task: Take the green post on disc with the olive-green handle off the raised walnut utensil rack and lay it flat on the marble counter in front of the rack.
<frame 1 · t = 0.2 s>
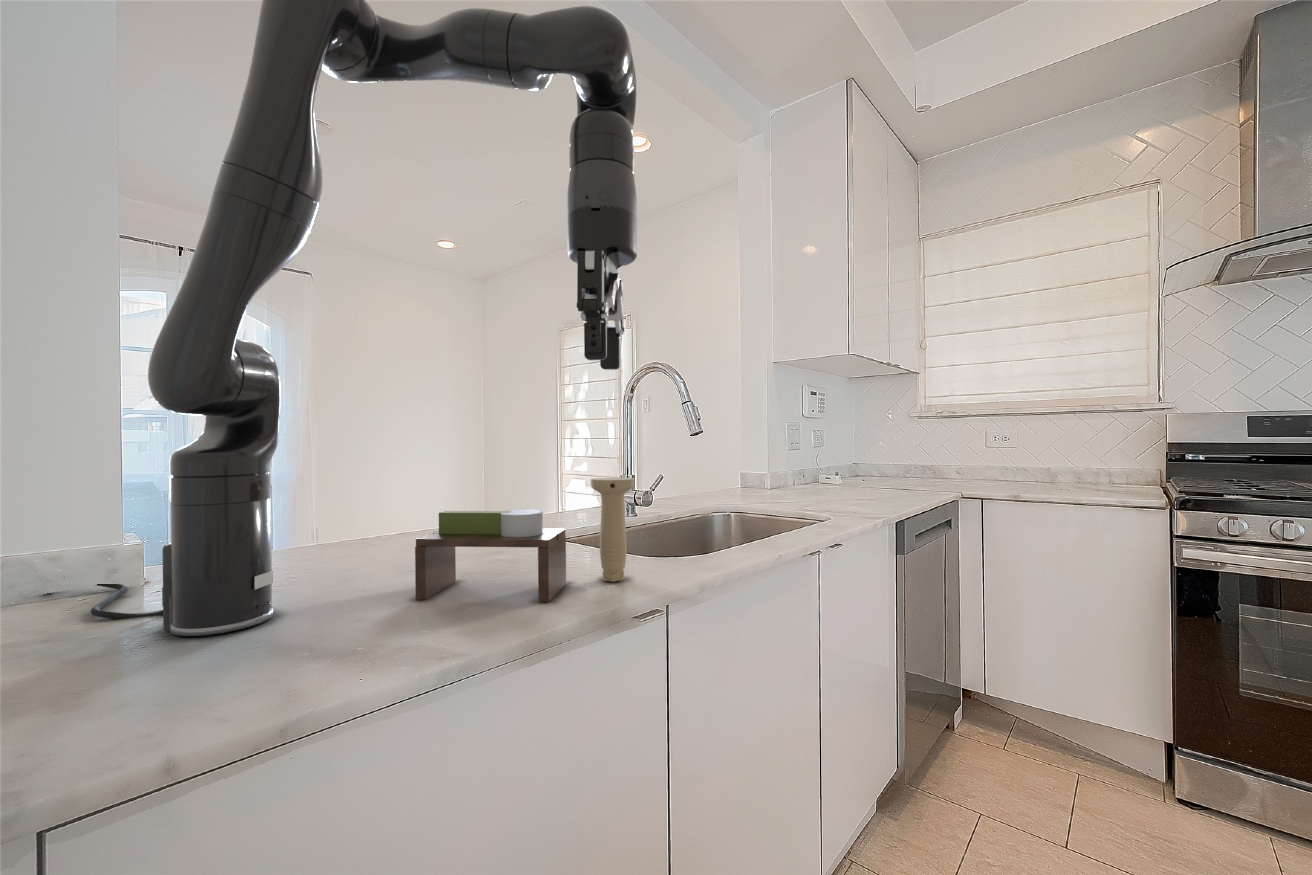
hand: (603, 364, 61), 29 cm above the countertop, tool pointing down, fingers open, 8 cm apart
handle: (613, 581, 83), on the countertop
green post on disc: (476, 533, 78), point 8 cm above the countertop, touching rack
rack: (494, 591, 77), on the countertop
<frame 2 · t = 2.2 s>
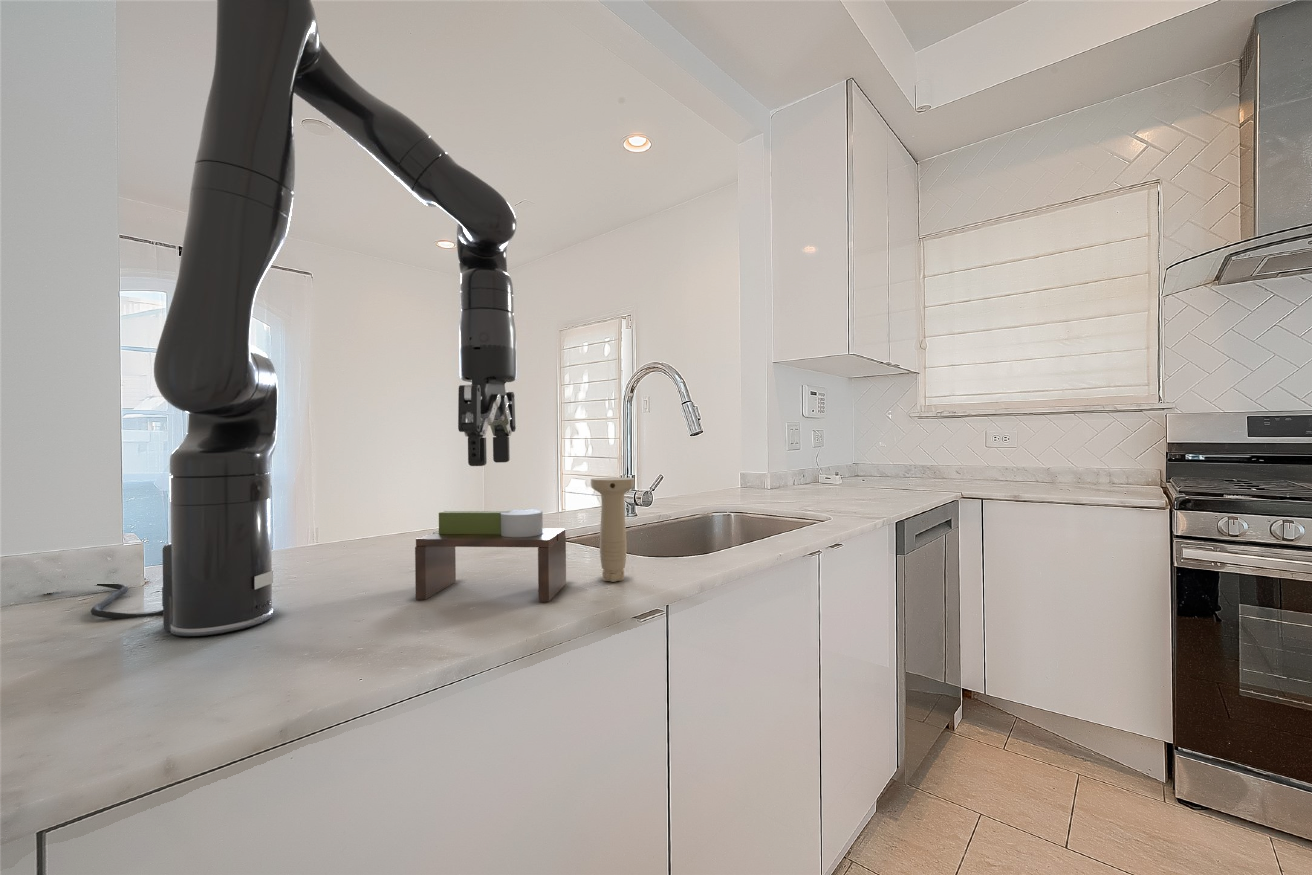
hand: (490, 464, 77), 18 cm above the countertop, tool pointing down, fingers open, 8 cm apart
nothing on the countertop moved.
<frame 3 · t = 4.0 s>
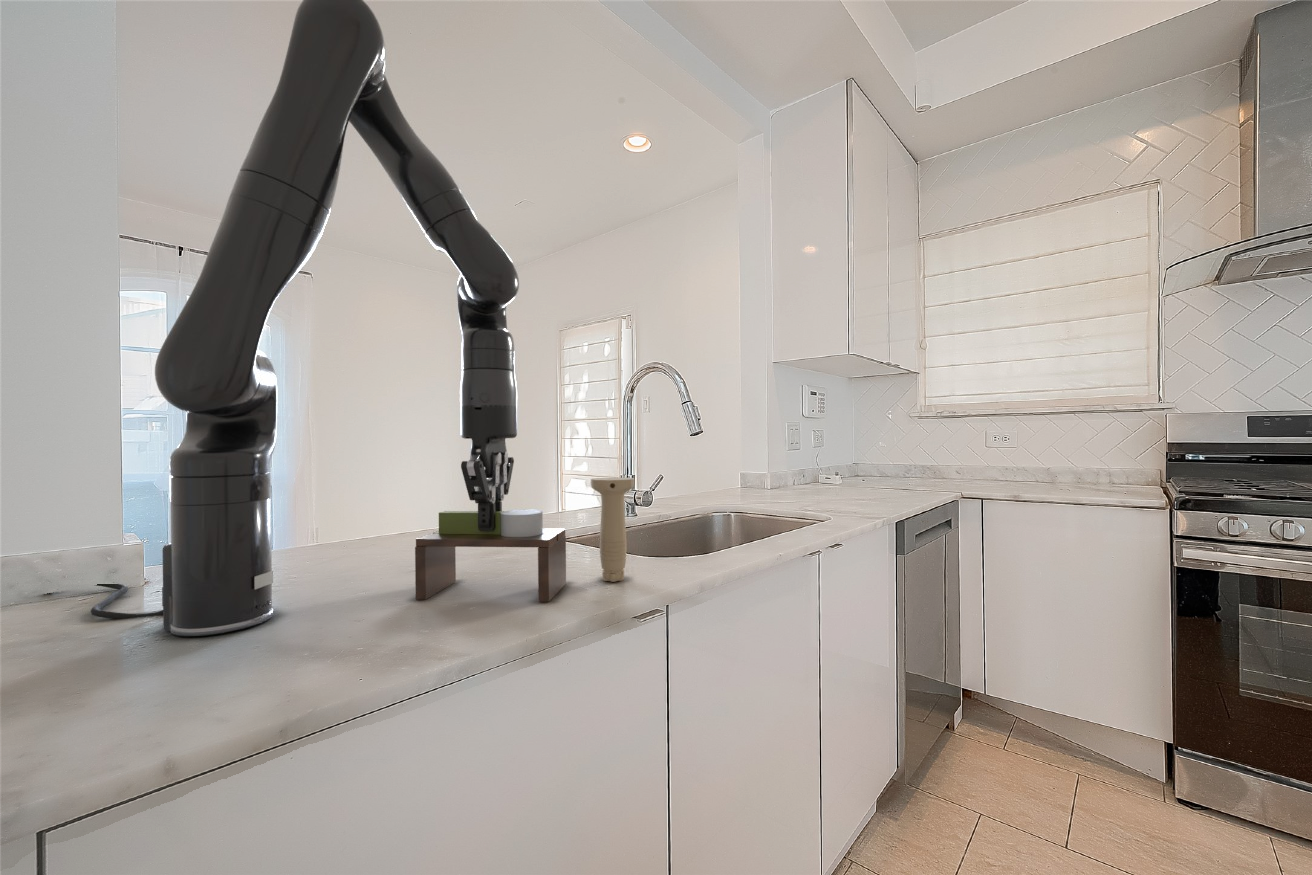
hand: (490, 528, 77), 9 cm above the countertop, tool pointing down, fingers closed on green post on disc, 2 cm apart
green post on disc: (476, 533, 78), point 8 cm above the countertop, touching gripper, rack
everything else where it was.
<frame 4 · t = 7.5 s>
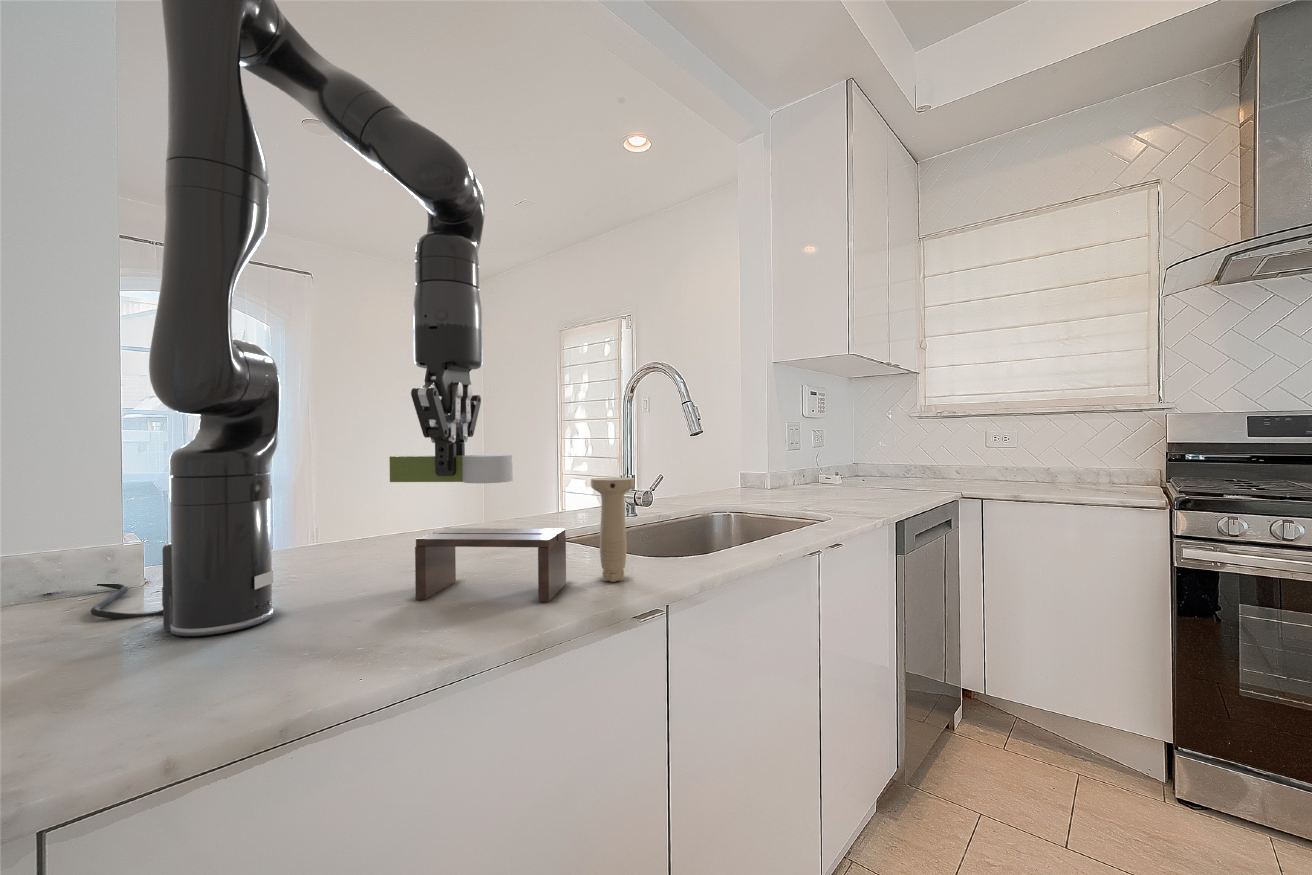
hand: (450, 474, 66), 17 cm above the countertop, tool pointing down, fingers closed on green post on disc
green post on disc: (434, 481, 66), point 16 cm above the countertop, touching gripper
everything else where it was.
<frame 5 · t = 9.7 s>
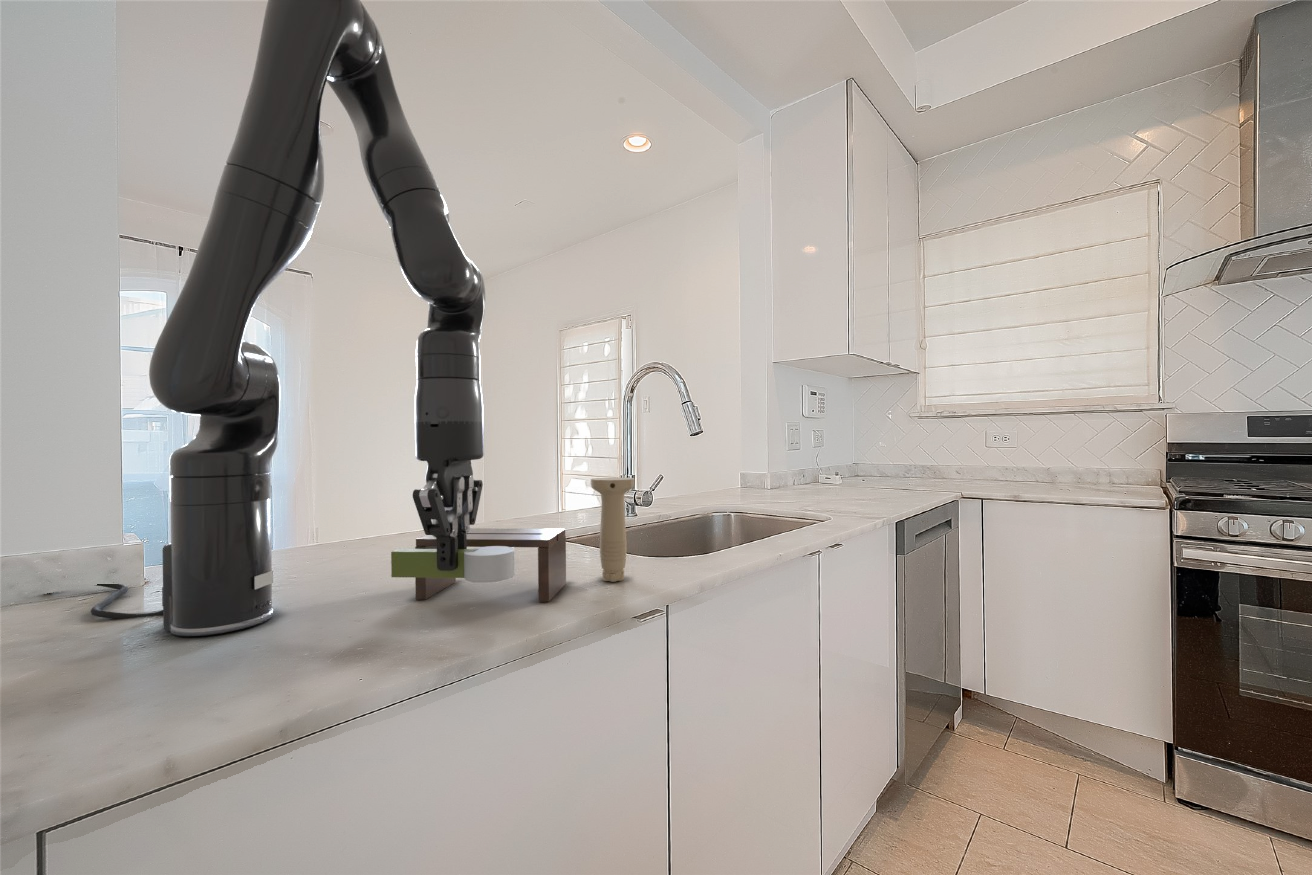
hand: (452, 566, 66), 6 cm above the countertop, tool pointing down, fingers closed on green post on disc, 2 cm apart
green post on disc: (436, 575, 66), point 5 cm above the countertop, touching gripper
everything else where it was.
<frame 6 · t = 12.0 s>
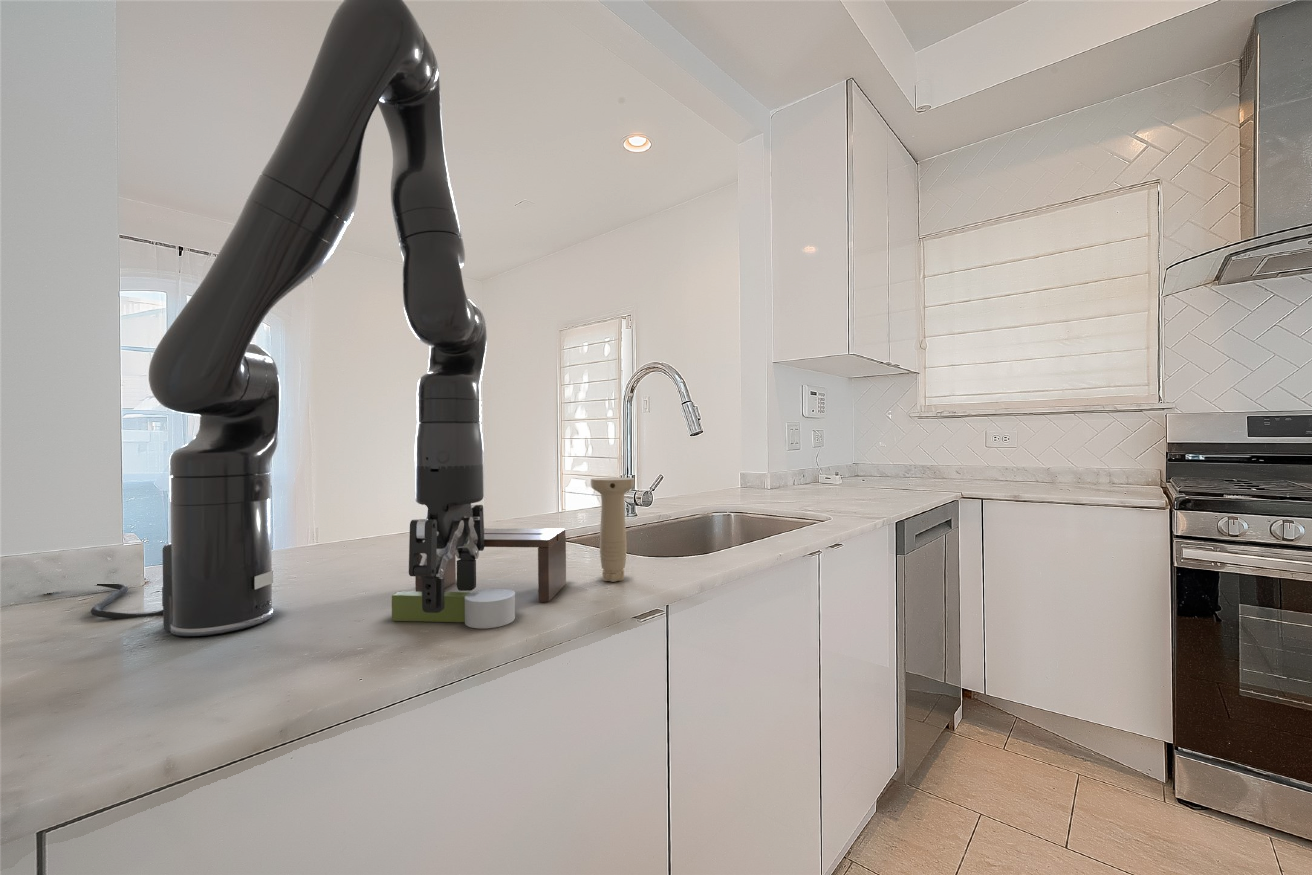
hand: (450, 600, 66), 2 cm above the countertop, tool pointing down, fingers open, 8 cm apart
green post on disc: (436, 619, 66), on the countertop
everything else where it was.
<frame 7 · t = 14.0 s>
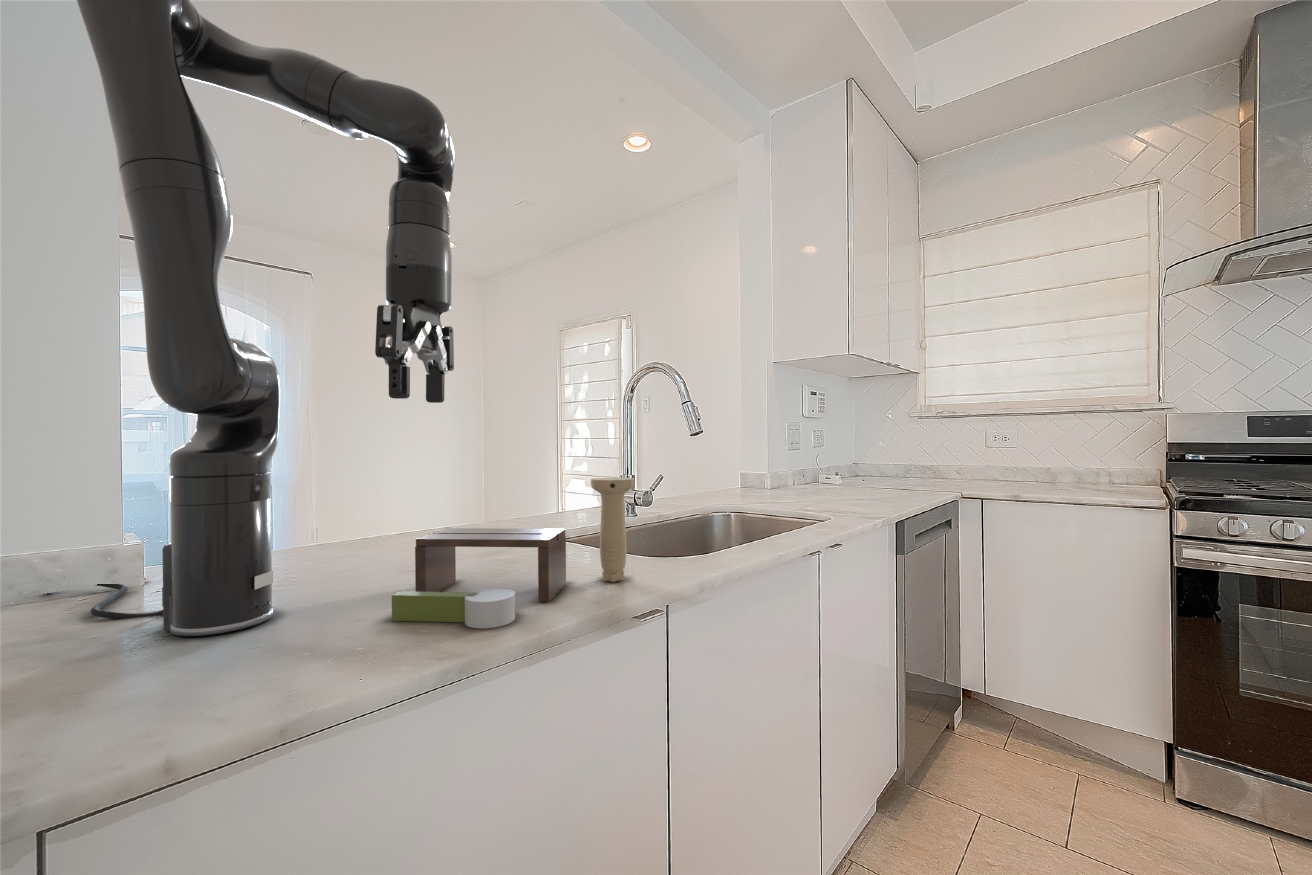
hand: (418, 400, 69), 26 cm above the countertop, tool pointing down, fingers open, 8 cm apart
nothing on the countertop moved.
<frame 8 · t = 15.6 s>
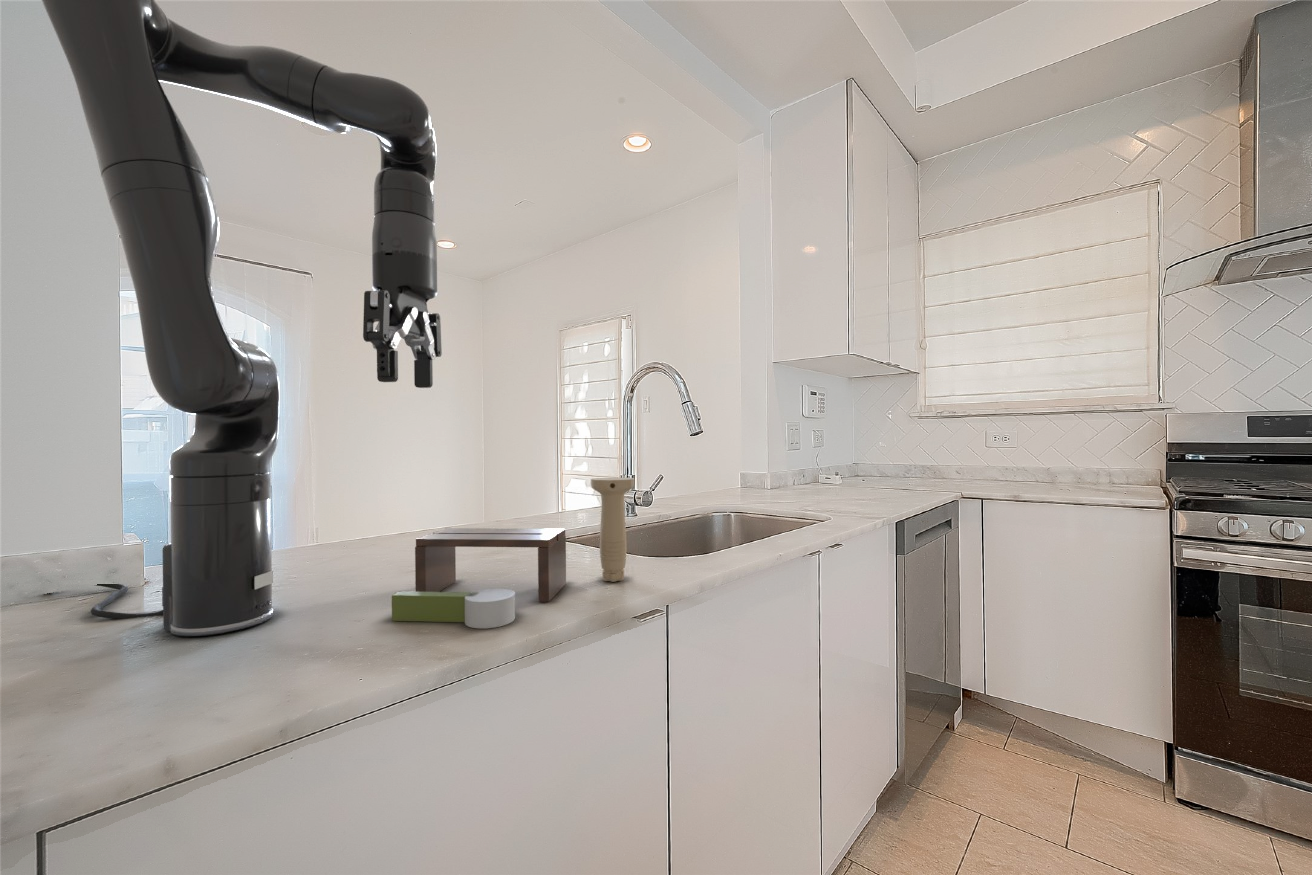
hand: (406, 385, 71), 28 cm above the countertop, tool pointing down, fingers open, 8 cm apart
nothing on the countertop moved.
at the end: green post on disc inside the target area (0.1 cm from its centre), on the countertop; green post on disc touching countertop; green post on disc tilted 0° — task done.
